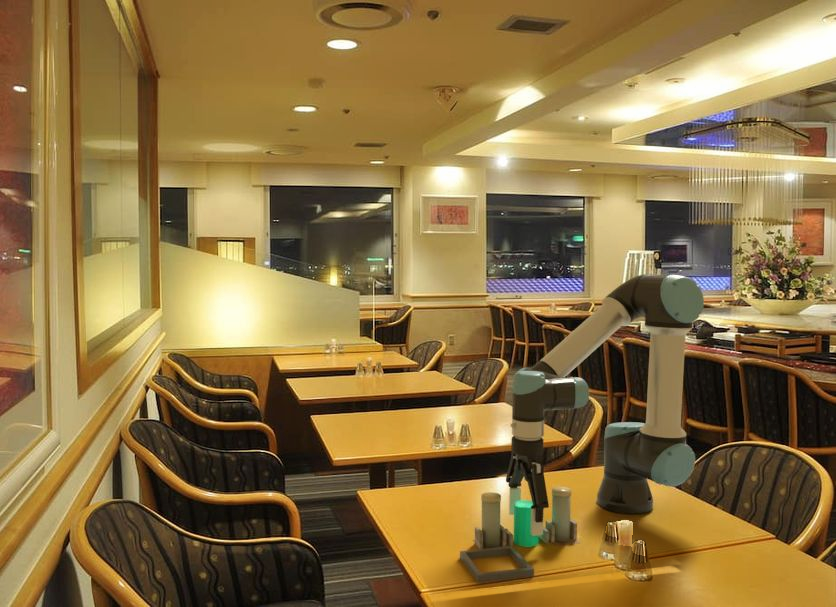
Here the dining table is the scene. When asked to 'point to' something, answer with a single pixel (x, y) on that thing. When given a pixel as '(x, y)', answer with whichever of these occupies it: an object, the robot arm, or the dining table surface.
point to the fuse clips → (548, 534)
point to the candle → (523, 524)
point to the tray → (496, 575)
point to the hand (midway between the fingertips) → (525, 524)
